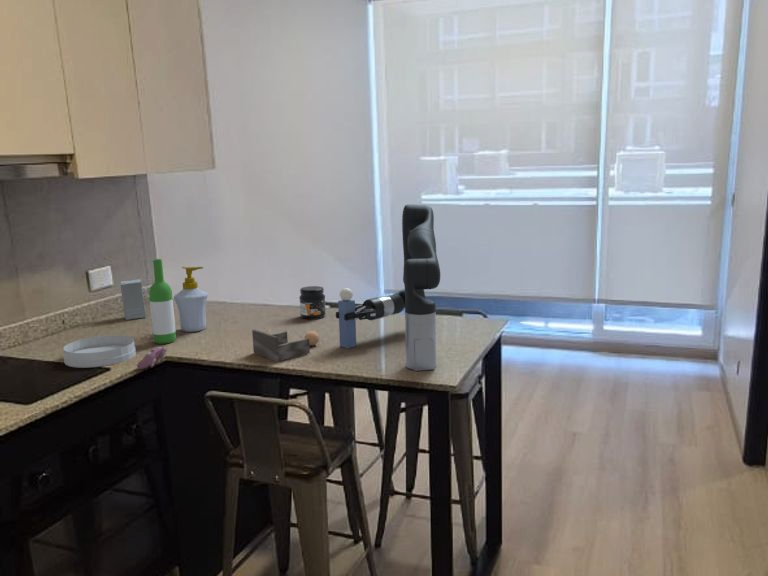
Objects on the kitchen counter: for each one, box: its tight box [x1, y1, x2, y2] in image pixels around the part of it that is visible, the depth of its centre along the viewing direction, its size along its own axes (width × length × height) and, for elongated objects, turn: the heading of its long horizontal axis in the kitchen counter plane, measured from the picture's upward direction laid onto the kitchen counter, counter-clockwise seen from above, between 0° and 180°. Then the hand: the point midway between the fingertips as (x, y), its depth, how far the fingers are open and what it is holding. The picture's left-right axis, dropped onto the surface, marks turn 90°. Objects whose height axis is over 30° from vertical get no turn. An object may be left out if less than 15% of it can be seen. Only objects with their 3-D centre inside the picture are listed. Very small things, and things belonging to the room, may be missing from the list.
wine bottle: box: [148, 258, 177, 345], centre depth 229 cm, size 8×8×30 cm
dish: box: [62, 334, 137, 369], centre depth 214 cm, size 22×22×5 cm
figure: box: [337, 287, 357, 349], centre depth 218 cm, size 4×4×20 cm
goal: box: [251, 329, 311, 363], centre depth 213 cm, size 13×14×8 cm
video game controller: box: [136, 346, 167, 370], centre depth 204 cm, size 10×5×7 cm, turn 170°
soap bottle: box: [173, 266, 209, 333], centre depth 246 cm, size 13×13×25 cm
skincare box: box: [119, 279, 147, 321], centre depth 269 cm, size 8×7×16 cm
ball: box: [304, 330, 320, 347], centre depth 222 cm, size 5×5×5 cm
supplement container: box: [298, 285, 327, 320], centre depth 263 cm, size 10×10×12 cm
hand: (340, 316), depth 216 cm, fingers closed on figure, 4 cm apart
